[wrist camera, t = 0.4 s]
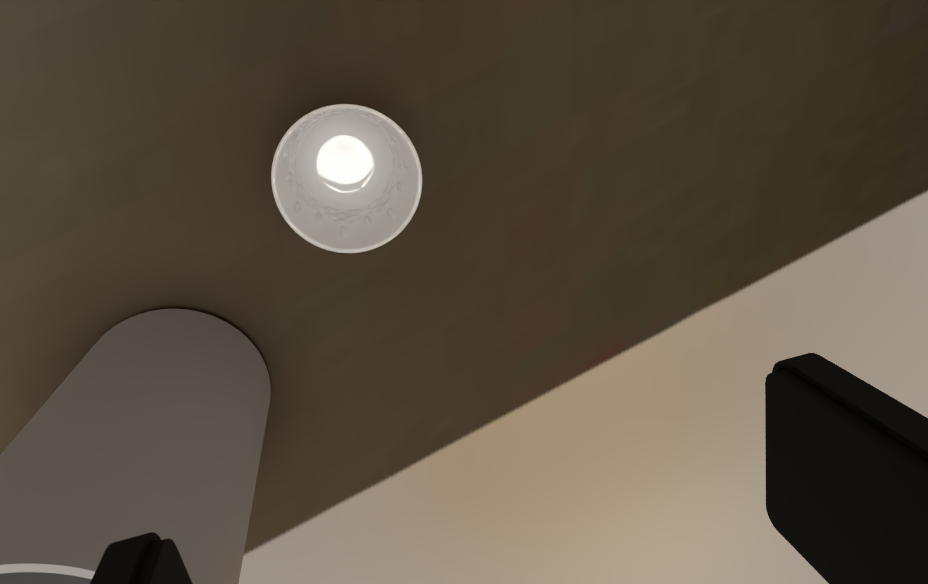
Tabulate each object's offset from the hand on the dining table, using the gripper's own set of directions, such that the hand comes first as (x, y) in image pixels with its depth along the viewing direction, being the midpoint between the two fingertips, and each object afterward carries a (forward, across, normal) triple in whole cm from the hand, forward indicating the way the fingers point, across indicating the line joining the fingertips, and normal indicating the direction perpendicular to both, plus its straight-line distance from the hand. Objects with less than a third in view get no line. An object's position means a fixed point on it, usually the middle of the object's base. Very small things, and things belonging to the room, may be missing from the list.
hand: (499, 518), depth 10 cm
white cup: (+37, +1, -1) cm, 37 cm away
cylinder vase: (+37, +16, +12) cm, 42 cm away
